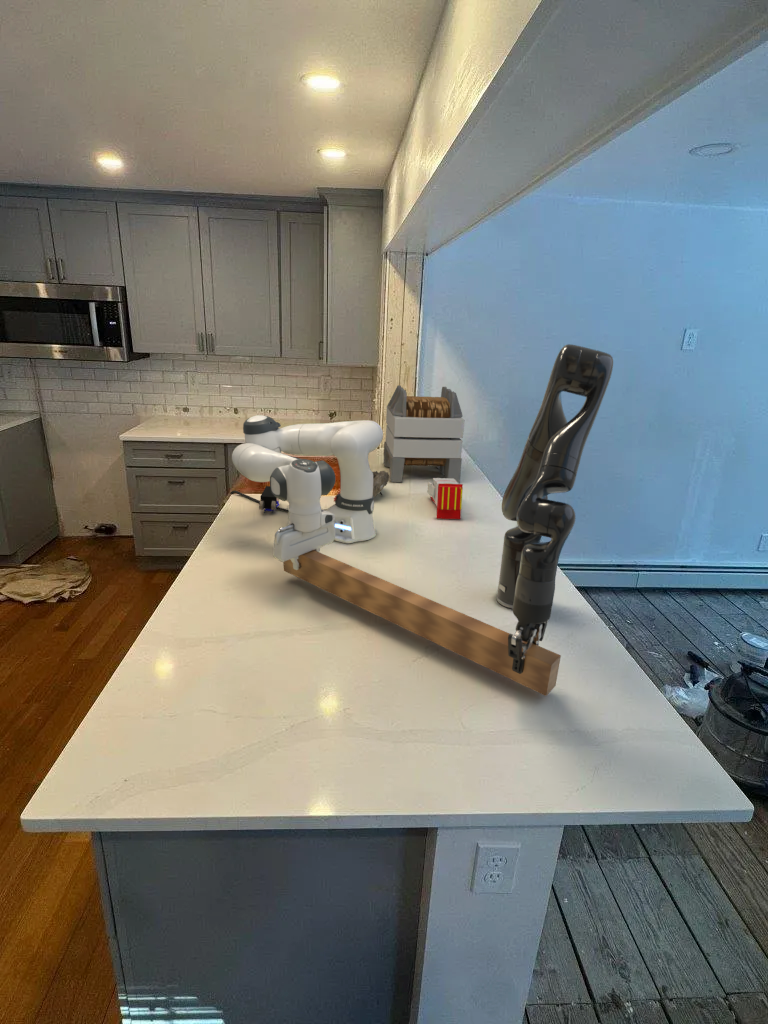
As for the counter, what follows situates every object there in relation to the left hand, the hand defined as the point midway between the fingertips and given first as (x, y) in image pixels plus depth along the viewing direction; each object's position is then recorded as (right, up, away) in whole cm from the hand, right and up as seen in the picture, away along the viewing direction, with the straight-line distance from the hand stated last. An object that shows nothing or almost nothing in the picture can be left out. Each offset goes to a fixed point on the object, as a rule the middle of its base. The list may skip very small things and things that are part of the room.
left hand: (305, 565), depth 159 cm
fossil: (+18, +22, +81) cm, 86 cm away
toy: (+46, +17, +70) cm, 85 cm away
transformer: (+39, +34, +116) cm, 127 cm away
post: (+26, -12, -19) cm, 34 cm away
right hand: (+51, -17, -40) cm, 67 cm away
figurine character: (-21, +16, +58) cm, 64 cm away
